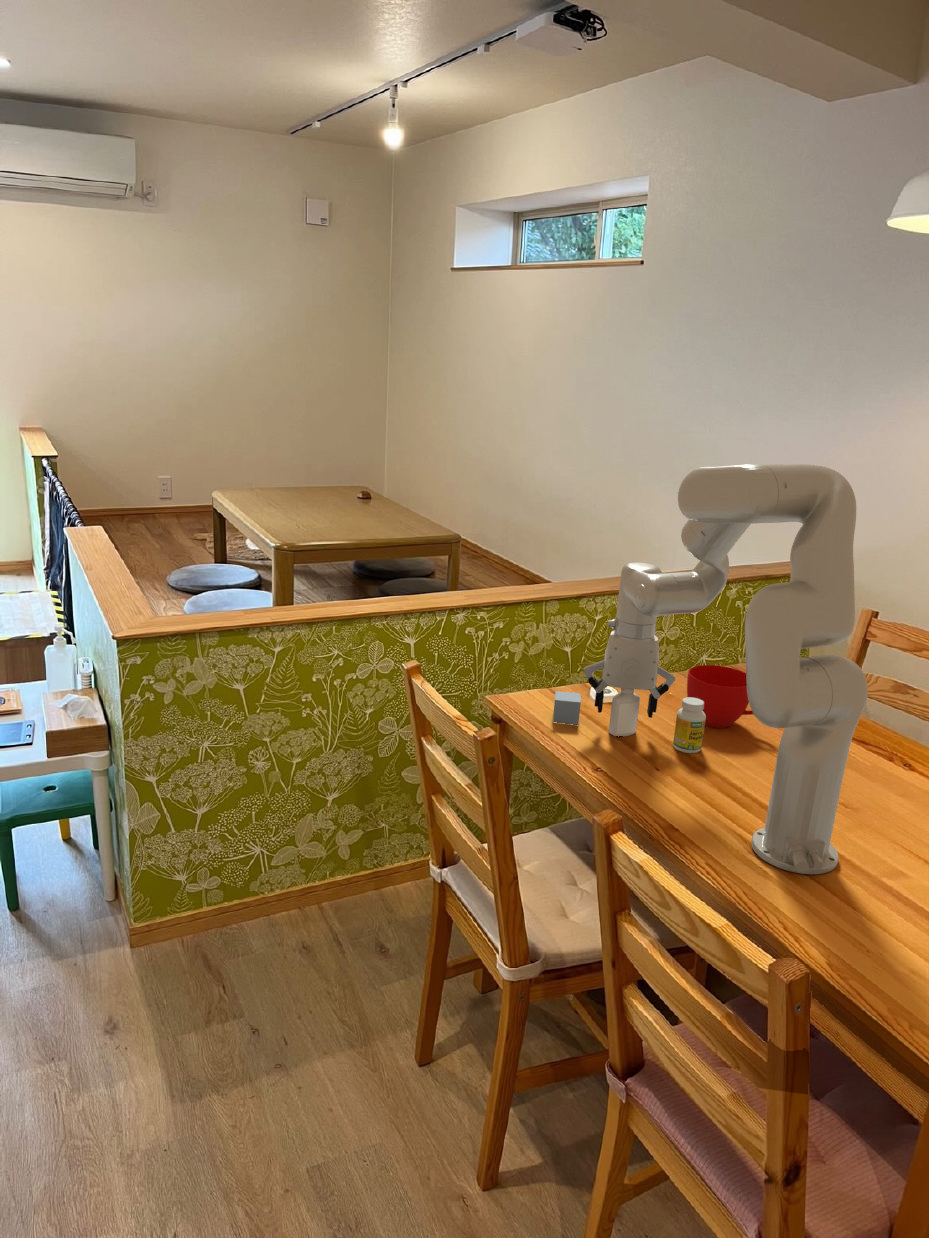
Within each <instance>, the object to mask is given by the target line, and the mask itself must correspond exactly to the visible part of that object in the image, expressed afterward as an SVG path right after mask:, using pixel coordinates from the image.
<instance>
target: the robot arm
mask: <svg viewBox="0 0 929 1238" xmlns="http://www.w3.org/2000/svg"><path fill="white" fill-rule="evenodd" d="M677 504H678V508H679V511H680V512H681V514H682V515H683V516H684V517H685V518H686V519H688V520H687V521H686V523H685V524H684V525H683V527H682V529H681V532H680V533H681V534H680V536H681V537H680V540H681V541H682V544H683V546H684V548H685V550H686V551H687V552H688V553H689V554H690V555H691V556H693V557H694V558H695V559H697V560H699V562H698V563H697V564H696V565H695V566H694V568H693V569H692V570H691V571H683V572H681V571H680V572H666V573H664V572H662V569H661V568H660V567H659V566H658V565H655V564H652V563H648V562H639V561H636V562H629V563H626V564H625V565H623V567H622V568H621V573H620V581H619V588H618V589H619V590H618V598H617V606H616V613H615V618H613V619H611V620H610V619H607V625H606V626H607V628H611V629H612V631H611V632H610V635H609V637H608V640H607V645H606V648H605V652H604V659H602V660H599V661H596V662H594V663H591V664H589V665H585V666H584V667H583V672H584V674H585V675H584V676H585V677H586V679H587V682H588V684H589V685H590V686H591V688H593V690H594V691H595V696H594V697H595V698H594V707H596V708H597V713H599V714H600V713H602V712H603V705H604V696H605V693H604V690H605V689H606V688H607V687H611V688H618V689H621V688H627V689H634V690H640V691H649V696H648V703H647V709H646V710H647V711H646V713H647V717H648V718H650V719H652V718H653V714H654V713H657V708H658V700H659V698H661V696H663V695H664V694H666V692H668V691H669V690H670V688H671V686H672V685H673V684H674V682H675V681H676V676H675V675H674V674H673V673H671V672H670V671H668V670H667V669H665V668H663V667H661V666H659V659H660V658H659V656H660V648H659V647H660V646H659V645H660V644H659V638H658V636H656V635H655V634H656V627H657V618H658V617H661V616H665V617H666V616H672V615H673V616H674V615H684V614H685V615H686V614H694V613H695V614H696V613H699V612H702V611H703V610H704V609H706V608H708V607H709V606H710V605H711V603H713V602H714V600H715V599H716V597H718V596H719V594H720V593H721V592H722V591H723V589H724V588H725V586H726V584H727V581H728V578H729V572H730V571H729V570H730V561H729V555H728V554H729V552H730V551H731V550H732V549H733V547H734V546H735V545H736V543H737V542H738V541H739V540H740V538H741V537H742V535H744V533H745V532H746V531H747V529H749V527H750V526H751V524H754V525H755V524H775V523H776V524H778V523H781V524H782V523H793V522H794V523H800V524H802V525H801V527H800V528H799V530H798V532H797V533H796V535H795V537H794V540H793V543H792V545H791V549H790V556H789V561H790V579H789V582H777V583H771V584H768V585H766V586H764V587H762V588H760V589H759V590H757V591H756V593H754V595H753V596H752V597H751V600H749V601H750V602H749V603H748V607H747V609H746V611H745V620H744V638H745V639H744V642H745V644H744V645H745V648H744V649H745V673H746V680H747V694H748V700H749V704H748V705H749V707H750V711H752V712H753V714H752V715H754V717H755V718H756V719H757V721H758V722H760V723H761V724H762V725H764V726H766V727H768V728H772V729H784V730H783V733H782V735H781V737H780V742H779V746H778V752H777V754H776V756H777V757H776V762H775V767H774V773H773V777H772V778H773V779H772V783H771V791H770V794H769V795H770V796H769V800H768V806H767V811H766V818H765V824H764V827H762V828H759V829H757V830H756V831H755V832H753V834H752V837H751V843H750V844H751V848H752V849H753V851H754V853H755V854H757V856H758V857H759V858H761V860H763V861H764V862H766V863H768V864H770V865H772V866H774V867H776V868H779V869H781V870H784V871H787V872H790V873H796V874H802V875H822V874H826V873H829V872H831V871H833V870H834V869H835V868H837V866H838V862H839V857H840V856H839V853H838V850H837V849H836V847H835V846H833V844H832V843H831V839H832V834H833V829H834V823H835V818H836V815H837V810H838V809H837V808H838V804H839V799H840V793H841V789H842V784H843V781H844V780H843V779H844V775H845V770H846V767H847V766H846V765H847V761H848V756H849V752H850V747H851V744H852V740H853V736H854V734H855V731H856V728H857V726H858V723H859V721H860V718H861V717H862V714H863V712H864V709H865V707H866V704H867V700H868V689H869V687H868V680H867V678H866V674H865V672H864V671H863V670H862V668H861V667H860V666H859V665H858V664H857V663H856V662H854V661H853V660H851V659H850V658H848V657H844V656H841V655H836V654H835V655H834V654H832V655H831V654H823V655H814V656H812V655H811V656H805V657H803V656H802V657H801V652H802V651H801V650H804V649H811V648H821V647H828V646H834V645H837V644H840V643H842V642H844V641H846V640H847V639H848V638H849V637H850V636H851V635H852V633H853V631H854V627H855V622H856V621H855V619H856V618H855V616H856V610H855V609H856V608H855V607H856V605H855V604H856V602H855V600H856V599H855V597H856V595H855V563H854V561H855V560H854V540H855V539H854V538H855V530H856V523H857V500H856V496H855V492H854V489H853V487H852V485H851V484H850V482H849V481H848V479H847V478H846V477H845V476H844V475H842V474H841V473H840V472H838V471H836V470H835V469H832V468H829V467H828V466H827V467H826V466H823V465H817V464H816V465H815V464H809V463H807V464H804V463H803V464H802V463H786V464H785V463H783V464H771V463H770V464H768V463H767V464H764V463H763V464H758V463H757V464H739V465H736V464H735V465H724V466H701V467H700V466H699V467H697V468H695V469H693V470H691V471H690V472H689V473H688V474H686V476H685V477H684V478H683V479H682V481H681V482H680V486H679V488H678V493H677ZM600 670H602V677H601V678H600V679H599V680H597V678H596V677H595V676H594V674H593V673H594V672H597V671H600ZM658 675H659V676H660V677H662V678H663V679H665V680H664V682H662V683H661V684H659V685H658V686H657V681H658Z"/></svg>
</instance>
